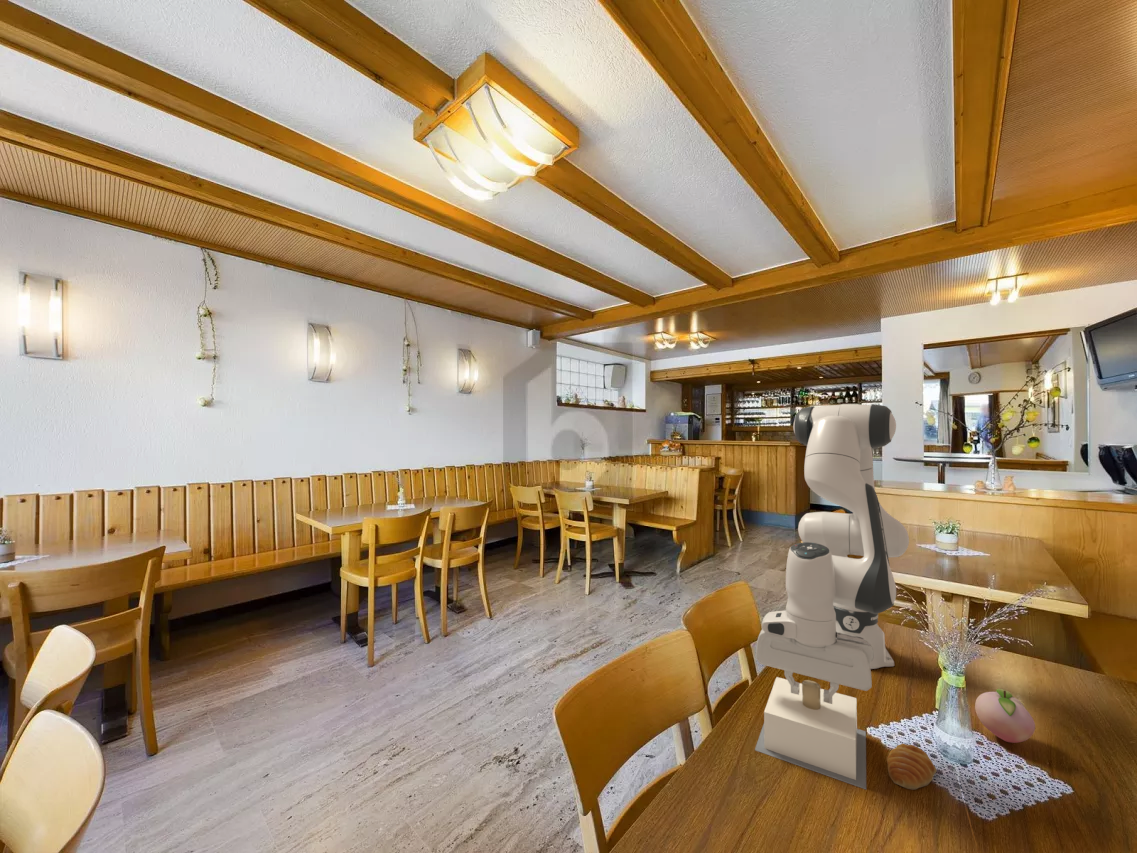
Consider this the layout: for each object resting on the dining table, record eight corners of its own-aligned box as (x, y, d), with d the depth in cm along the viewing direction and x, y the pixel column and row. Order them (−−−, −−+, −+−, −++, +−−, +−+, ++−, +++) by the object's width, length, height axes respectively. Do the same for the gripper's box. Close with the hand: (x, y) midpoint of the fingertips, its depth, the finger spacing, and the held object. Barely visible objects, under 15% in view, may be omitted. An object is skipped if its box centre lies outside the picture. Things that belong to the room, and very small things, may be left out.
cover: (776, 708, 101) (776, 658, 101) (857, 732, 92) (856, 678, 93) (764, 748, 88) (763, 691, 88) (856, 780, 80) (855, 717, 80)
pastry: (926, 802, 76) (925, 779, 76) (878, 780, 81) (878, 758, 81) (937, 774, 82) (937, 752, 82) (893, 754, 87) (892, 734, 87)
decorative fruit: (969, 721, 96) (968, 674, 97) (1021, 733, 93) (1020, 684, 93) (984, 748, 88) (983, 696, 88) (1042, 763, 84) (1041, 708, 84)
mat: (770, 704, 103) (770, 703, 103) (865, 733, 93) (865, 731, 93) (754, 752, 88) (754, 749, 88) (866, 791, 78) (866, 789, 78)
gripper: (873, 633, 88) (874, 705, 87) (759, 611, 99) (760, 675, 98) (873, 646, 82) (874, 723, 82) (753, 621, 93) (754, 689, 93)
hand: (811, 697), depth 90 cm, fingers open, 4 cm apart
